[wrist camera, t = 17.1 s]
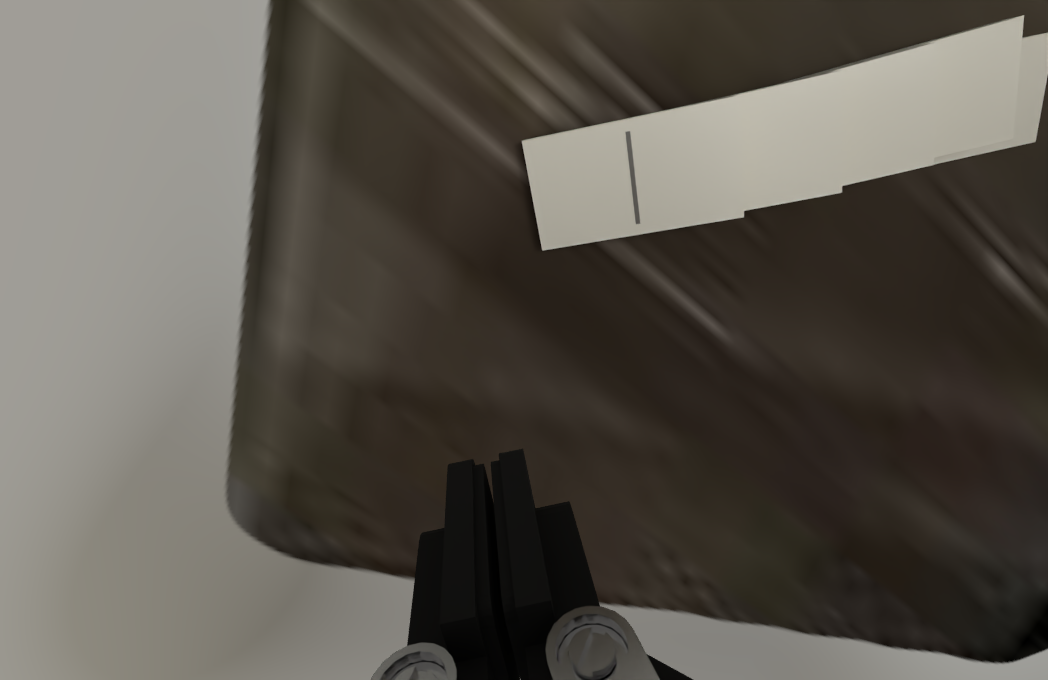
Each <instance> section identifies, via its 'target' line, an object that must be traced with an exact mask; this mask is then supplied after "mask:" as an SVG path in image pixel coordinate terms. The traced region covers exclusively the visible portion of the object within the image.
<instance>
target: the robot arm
mask: <svg viewBox="0 0 1048 680" xmlns="http://www.w3.org/2000/svg"><path fill="white" fill-rule="evenodd" d="M499 459H500V460H499V461H494V462H491V473H492V485H493V498H494V503H493V499H492V495H491V491H490V487H489V483H488V479H487V474H486V470H485V467H484V464H480V465H475V463H474V460H473V459H471V460H466V461H462V462H457V463H452V464H449V465H448V472H447V490H446V509H445V528H442V529H437V530H433V531H428V532H423V533H422V534H421V535H420V540H419V548H418V556H417V565H416V574H415V583H414V592H413V600H412V609H411V618H410V627H409V636H408V644H407V646H406V647H404V648H402V649H401V650H398V651H396V652H395V653H394V654H392V655H391V656H390V657H389V658H388V659H386V660H385V661H384V662H383V663H382V664H381V666H380V667H379V668H378V669H377V670H376V672H375V673H374V674H373V676H372V678H371V680H520V679H521V680H693V679H691V678H689V677H687V676H686V675H684V674H682V673H680V672H678V671H676V670H674V669H673V668H671V667H669V666H667V665H666V664H664V663H662V662H660V661H658V660H656V659H655V658H653V657H651V656H649V655H647V654H646V653H645V651H644V649H643V647H642V645H641V643H640V641H639V639H638V637H637V635H636V634H635V632H634V630H633V628H632V627H631V626H630V624H629V623H628V622H627V620H626V619H625V618H623V617H622V616H621V615H619V614H618V613H616V612H615V611H613V610H610V609H607V608H604V607H601V606H600V605H599V601H598V598H597V594H596V591H595V588H594V584H593V581H592V577H591V574H590V570H589V567H588V563H587V560H586V556H585V553H584V549H583V546H582V542H581V539H580V535H579V532H578V528H577V525H576V521H575V518H574V515H573V511H572V508H571V505H570V502H564V503H559V504H555V505H550V506H545V507H540V508H536V509H535V505H534V500H533V495H532V490H531V485H530V480H529V476H528V471H527V466H526V461H525V456H524V451H523V449H519V450H514V451H509V452H505V453H500V454H499ZM519 675H520V676H519Z"/></svg>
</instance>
